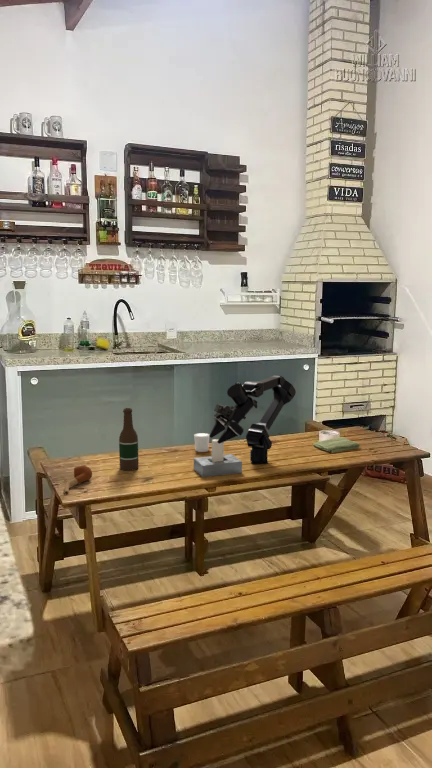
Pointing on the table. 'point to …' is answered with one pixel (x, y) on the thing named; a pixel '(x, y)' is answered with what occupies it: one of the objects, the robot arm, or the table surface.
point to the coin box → (217, 466)
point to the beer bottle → (128, 443)
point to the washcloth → (337, 445)
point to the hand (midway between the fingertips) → (214, 439)
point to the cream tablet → (217, 451)
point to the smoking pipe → (79, 477)
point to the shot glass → (201, 442)
